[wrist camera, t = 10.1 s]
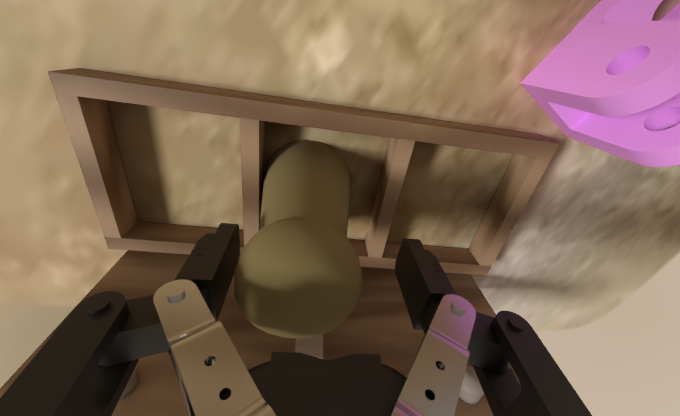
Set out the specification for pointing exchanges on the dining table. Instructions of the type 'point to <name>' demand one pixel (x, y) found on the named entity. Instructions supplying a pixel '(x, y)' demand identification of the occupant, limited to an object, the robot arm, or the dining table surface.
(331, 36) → the dining table surface
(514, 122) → the dining table surface
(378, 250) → the wooden peg rack
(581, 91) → the bracket
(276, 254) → the olive bulbous cylinder
